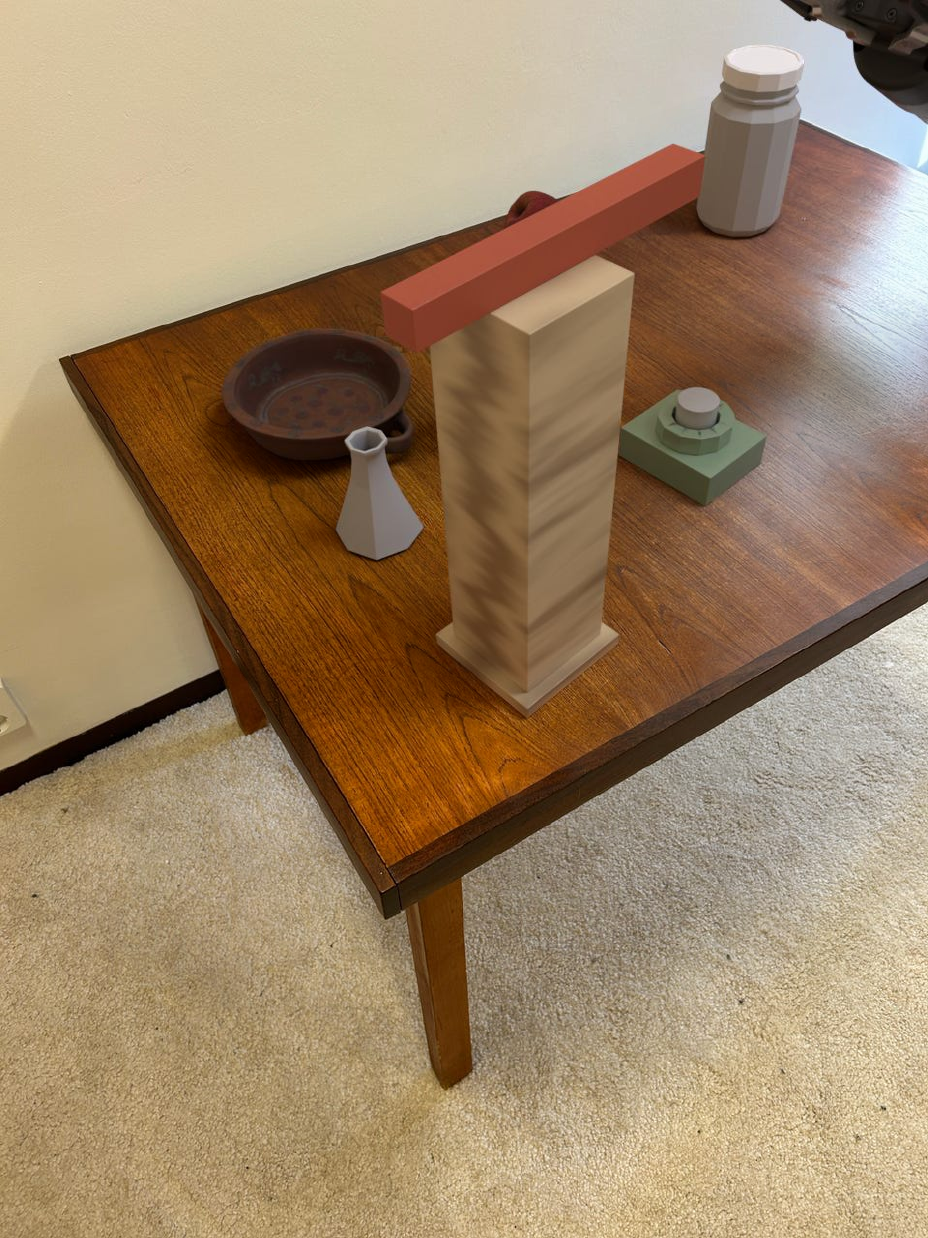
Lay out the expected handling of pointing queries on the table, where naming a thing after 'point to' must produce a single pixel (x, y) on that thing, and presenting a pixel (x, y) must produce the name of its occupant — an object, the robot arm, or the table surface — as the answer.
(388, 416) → the dish
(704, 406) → the grey push button
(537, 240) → the rod
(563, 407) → the stand
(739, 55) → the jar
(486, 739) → the table surface
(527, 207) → the apple
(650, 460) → the green button base
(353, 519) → the flask
